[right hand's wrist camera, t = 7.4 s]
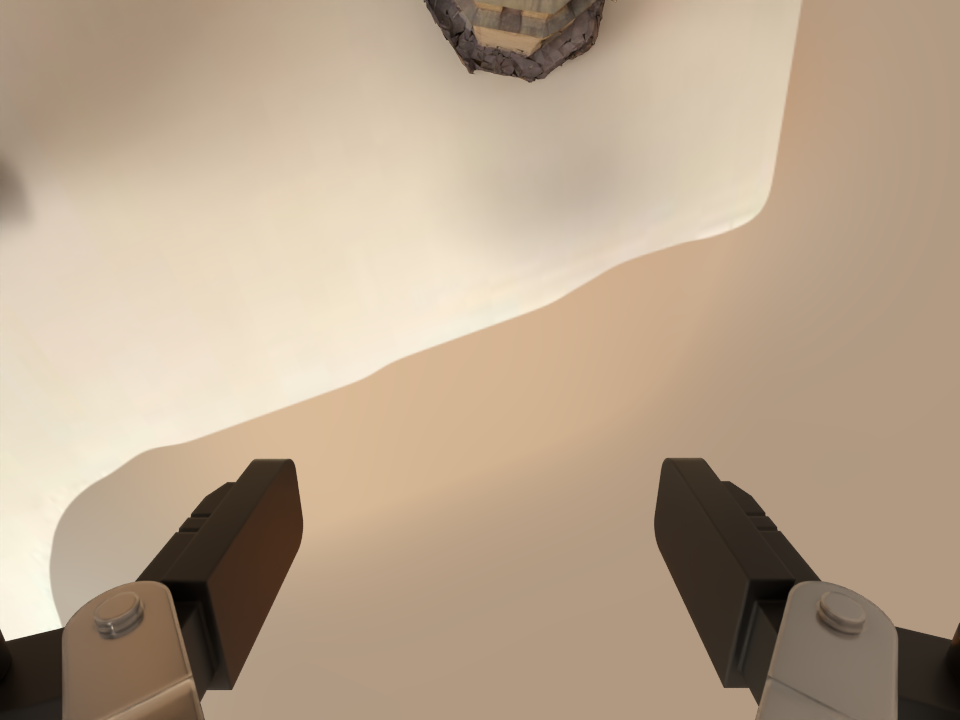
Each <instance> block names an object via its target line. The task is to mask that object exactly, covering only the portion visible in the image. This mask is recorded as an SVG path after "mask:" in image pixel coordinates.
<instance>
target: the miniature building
mask: <svg viewBox="0 0 960 720" xmlns="http://www.w3.org/2000/svg"><path fill="white" fill-rule="evenodd" d="M612 1H614V2H615V3H616V1H617V0H612ZM424 2H426V6H427V8H428V10H429V11H430V12H431V14H432V17H433V19H434V21H435V22H436V23H437V24H438V26H439V27H440V28H441V30H442V32H443V35H444V36H445V38H446V40H449V42H450V44H451V45H452V46H453V48H454V50H455V51H456V53H457V55H458V57H459V58H460V60H461V62H462V63H463V64H464V66H465V67H466V68H467V70H468V72H469V73H470V74H474V73H473V72H474V70H476V69H477V70H483V71H487V72H491V73H495V74H500V75H504V76H513V77H518V78H521V79H524V80H526V81H528V82H532V81H535V78H536V79H543V78H545V77H546V76H547V75H548V74H549V73H550V72H551V71H552V70H554V69H555V68H556V67H558V66H559V65H560V66H562V63H564V62H565V61H566V60H568V59H574V58H576V57H577V56H579V55H582V54H583V53H585V52H587V51H588V50H589V49H590V48H591V47H592V46H593V45H594V44H595V41H596V39H597V36H598V30H599V25H600V21H601V19H602V11H603V6H604V2H605V0H424ZM457 8H458V9H457ZM462 11H463V12H462ZM600 17H601V18H600ZM436 23H435V24H436ZM472 25H473V28H472ZM471 28H472V29H471ZM562 28H563V29H562ZM471 30H472V32H473V33H474V34H473V35H472V34H471V33H470V32H471ZM560 33H561V35H560ZM474 36H475V37H474ZM475 38H476V41H475ZM473 39H474V40H473ZM544 39H546V40H544ZM543 41H544V42H543ZM487 44H488V45H487ZM543 44H544V45H543ZM486 45H487V46H486ZM495 45H496V46H495ZM563 45H564V46H563ZM497 46H499V47H498V49H497ZM515 48H516V49H515ZM518 49H519V50H518ZM524 49H525V50H524ZM490 50H491V51H493V50H494V51H493V52H491V51H490ZM495 50H497V51H495ZM499 50H500V52H501V53H499ZM521 50H522V51H523V52H522V53H521ZM502 51H503V52H502ZM512 51H514V52H515V53H516V54H514V53H513V52H512ZM518 51H519V52H518ZM536 51H537V52H536ZM511 52H512V53H511ZM533 53H534V54H533ZM487 54H490V55H487ZM510 54H511V55H510ZM522 54H523V55H522ZM531 54H532V55H531ZM503 57H506V58H505V59H504V58H503ZM539 65H540V66H539ZM520 72H521V73H520ZM540 73H541V74H540Z"/></svg>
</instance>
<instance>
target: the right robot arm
mask: <svg viewBox="0 0 960 720" xmlns="http://www.w3.org/2000/svg"><path fill="white" fill-rule="evenodd" d="M654 529H655V537H656V541H657V545H658V548H659V550H660V552H661V554H662V556H663V558H664V561H665V563H666V565H667V567H668V569H669V571H670V573H671V576H672V578H673V580H674V582H675V584H676V586H677V588H678V590H679V593H680V595H681V597H682V599H683V601H684V603H685V605H686V607H687V610H688V612H689V614H690V616H691V618H692V620H693V622H694V625H695V627H696V629H697V631H698V633H699V635H700V638H701V640H702V642H703V644H704V646H705V648H706V650H707V652H708V655H709V657H710V659H711V661H712V663H713V665H714V667H715V670H716V672H717V674H718V676H719V678H720V680H721V682H722V684H723V687H724V688H749V689H750V691H751V692H752V694H753V696H754V698H755V700H756V702H757V704H758V706H759V708H758V711H757V715H756V719H755V720H960V623H959V625H958V628H957V630H956V632H955V635H954V637H953V639H952V640H950V639H945V638H941V637H937V636H933V635H929V634H924V633H920V632H916V631H911V630H907V629H903V628H899V627H895V626H894V625H893V623H892V621H891V620H890V619H889V617H888V616H887V615H886V614H885V613H884V612H883V611H882V610H881V609H880V608H879V607H878V606H876V605H875V604H874V603H872V602H871V601H870V600H868V599H866V598H865V597H863V596H862V595H860V594H858V593H856V592H854V591H852V590H850V589H847V588H845V587H842V586H839V585H836V584H832V583H828V582H822V581H821V580H820V579H819V577H818V576H817V575H816V574H815V573H814V571H813V570H812V569H811V568H810V567H809V565H808V564H807V563H806V562H805V560H804V559H803V558H802V557H801V556H800V554H799V553H798V552H797V551H796V550H795V548H794V547H793V546H792V545H791V543H790V542H789V541H788V540H787V539H786V537H785V536H784V535H783V534H782V533H781V531H778V530H777V527H776V525H775V524H774V523H773V522H772V520H771V519H770V518H769V517H768V516H766V515H765V512H764V511H763V509H762V508H761V507H760V506H759V505H758V503H757V502H756V501H755V500H754V499H753V497H752V496H751V495H749V494H748V493H746V492H745V491H743V490H742V489H740V488H739V487H737V486H736V485H734V484H733V483H731V482H730V481H720V479H719V478H718V477H717V475H716V474H715V473H714V472H713V470H712V469H711V468H710V466H709V465H708V464H707V462H706V461H705V460H704V459H702V458H666V459H665V460H664V462H663V464H662V468H661V475H660V482H659V489H658V496H657V503H656V510H655V518H654ZM302 533H303V516H302V510H301V502H300V495H299V489H298V481H297V475H296V468H295V464H294V462H293V461H292V460H291V459H254V460H253V461H252V462H251V463H250V465H249V466H248V467H247V468H246V470H245V471H244V472H243V474H242V475H241V476H240V477H239V479H238V480H237V481H236V482H227V483H226V484H224V485H223V486H221V487H220V488H218V489H217V490H215V491H214V492H212V493H211V494H209V495H208V496H206V497H205V498H204V499H203V500H202V502H201V503H200V504H199V505H198V506H197V508H196V509H195V510H194V511H193V512H192V514H191V518H188V519H187V520H186V521H185V522H184V523H183V524H182V526H181V527H180V528H179V532H176V533H175V534H174V535H173V536H172V538H171V539H170V540H169V541H168V543H167V544H166V545H165V546H164V547H163V549H162V550H161V551H160V552H159V553H158V555H157V556H156V557H155V558H154V559H153V561H152V562H151V563H150V564H149V565H148V567H147V568H146V569H145V570H144V571H143V573H142V574H141V575H140V576H139V578H138V579H137V580H136V581H135V582H132V583H128V584H124V585H121V586H118V587H115V588H113V589H110V590H108V591H106V592H104V593H102V594H100V595H98V596H97V597H95V598H94V599H92V600H90V601H89V602H88V603H86V604H85V605H84V606H82V607H81V608H80V609H79V610H78V611H77V612H76V613H75V614H74V615H73V616H72V617H71V619H70V620H69V622H68V623H67V624H66V626H65V627H64V628H60V629H56V630H52V631H48V632H44V633H39V634H35V635H31V636H27V637H23V638H18V639H14V640H10V641H6V642H5V639H4V637H3V635H2V632H1V630H0V720H205V719H204V715H203V711H202V708H201V704H200V702H201V700H202V698H203V696H204V694H205V692H206V690H232V689H233V687H234V685H235V682H236V680H237V678H238V676H239V674H240V672H241V670H242V668H243V666H244V663H245V661H246V659H247V657H248V655H249V653H250V651H251V649H252V647H253V644H254V642H255V640H256V638H257V636H258V634H259V632H260V630H261V627H262V625H263V623H264V621H265V619H266V617H267V615H268V613H269V611H270V609H271V606H272V604H273V602H274V600H275V598H276V596H277V594H278V592H279V590H280V587H281V585H282V583H283V581H284V579H285V577H286V575H287V573H288V571H289V568H290V566H291V564H292V562H293V560H294V558H295V556H296V554H297V552H298V549H299V547H300V544H301V539H302Z"/></svg>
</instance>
